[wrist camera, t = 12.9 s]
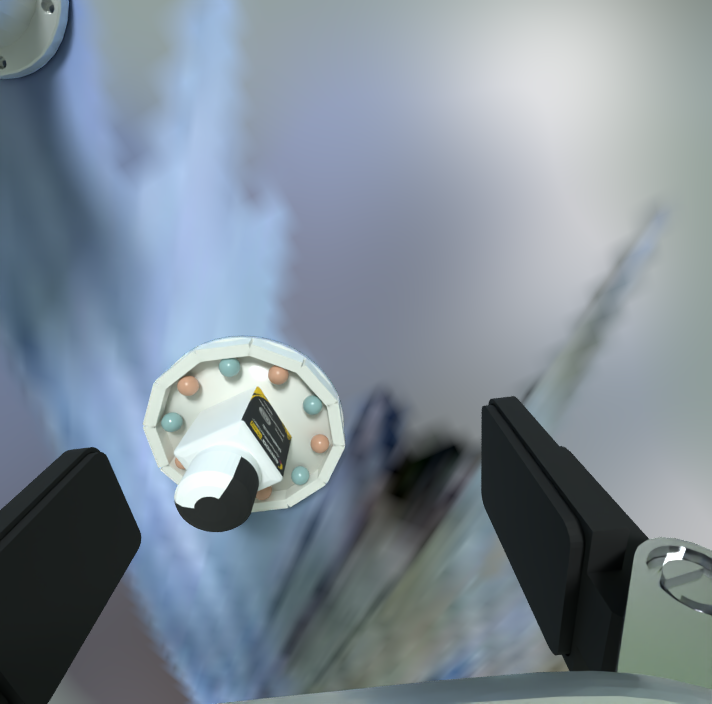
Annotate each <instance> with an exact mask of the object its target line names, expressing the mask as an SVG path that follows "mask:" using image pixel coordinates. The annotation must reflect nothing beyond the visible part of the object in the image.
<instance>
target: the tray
mask: <svg viewBox="0 0 712 704" xmlns="http://www.w3.org/2000/svg"><path fill="white" fill-rule="evenodd" d="M255 386H259V387H260V388H261V390H262V391H263V393H264V394H265V396H266V397H267V399H268V401H269V402H270V404H271V405H272V407H273V408H274V410H275V411H276V413H277V414H278V416H279V417H280V419H281V421H282V422H283V424H284V425H285V427H286V428H287V430H288V431H289V433H290V434H291V437H292V438H291V443H290V448H289V452H288V457H287V461H286V466H285V471H284V475H283V479H282V481H281V482H279V483H276V484H274V485H271V486H269V487H267V488H264V489H262V490H260V491H257V495H256V498H255V501H254V505H253V508H252V511H251V512H259V511H267V510H276V509H284V508H288V506H290V507H292V506H293V505H295V504H296V503H298V502H299V501H301V500H303V499H304V498H306V497H307V496H309V495H311V494H312V493H314V492H315V491H317V490H318V489H320V488H322V487H323V486H325V485H326V483H328V481H329V479H330V476H331V474H332V472H333V470H334V468H335V466H336V464H337V462H338V460H339V458H340V456H341V454H342V452H343V450H344V448H345V433H344V419H343V410H342V406H341V401H340V399H339V396H338V393H337V391H336V389H335V387H334V386H333V384H332V382H331V380H330V379H329V378H328V377H327V375H326V374H325V373H324V371H323V370H322V369H321V368H320V367H319V366H318V365H317V364H316V363H315V362H313V361H312V360H311V359H310V358H308V357H307V356H306V355H304V354H303V353H301V352H299V351H298V350H296V349H294V348H292V347H290V346H288V345H285V344H283V343H280V342H277V341H274V340H271V339H266V338H261V337H255V336H231V337H224V338H219V339H215V340H212V341H209V342H206V343H203V344H201V345H198V346H197V347H195V348H193V349H192V350H190V351H189V352H187V353H186V354H184V355H183V356H182V357H181V358H180V359H179V360H178V361H177V362H176V363H175V364H173V365H172V366H171V367H170V368H169V369H168V370H167V371H166V372H164V373H163V374H162V375H161V376H160V377H159V378H158V379H157V380H156V381H155V382H154V384H153V388H152V391H151V395H150V399H149V403H148V407H147V410H146V414H145V418H144V422H143V425H145V426H144V427H143V429H144V431H145V434H146V437H147V439H148V442H149V444H150V447H151V450H152V452H153V455H154V457H155V460H156V463H157V465H158V468H159V467H161V469H160V470H161V471H162V472H163V473H165V474H166V475H167V476H168V477H169V478H170V479H172V480H173V481H174V482H175V483H176V484H178V485H179V483H180V481H181V479H182V478H183V476H184V474H185V473H186V471H187V470H186V469H185V468H184V466H183V465H182V464H181V463H180V461H179V460H178V459H177V458H176V456H175V455H174V450H175V449H176V447H177V446H178V444H179V443H180V441H181V440H182V438H183V437H184V435H185V434H186V432H187V431H188V429H189V428H190V426H191V425H192V423H193V422H194V420H195V419H196V418H197V416H198V415H199V413H200V412H201V411H203V410H205V409H207V408H209V407H212V406H214V405H216V404H218V403H220V402H222V401H225V400H227V399H229V398H231V397H233V396H235V395H237V394H240V393H242V392H244V391H246V390H248V389H250V388H253V387H255Z"/></svg>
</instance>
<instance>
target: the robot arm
mask: <svg viewBox="0 0 712 704" xmlns="http://www.w3.org/2000/svg"><path fill="white" fill-rule="evenodd" d="M68 9H69V0H0V79H10V78H20V77H23V76H26V75H29V74H32V73H34V72H35V71H37V70H38V69H40V68H41V67H43V66H44V65H45V64H46V63H47V62H48V61H49V60H50V59H51V58H52V57H53V55H54V54H55V53H56V51H57V49H58V47H59V45H60V43H61V42H62V40H63V36H64V33H65V29H66V26H67V21H68ZM481 492H482V500H483V504H484V507H485V509H486V512H487V514H488V516H489V518H490V520H491V522H492V525H493V527H494V529H495V531H496V533H497V535H498V538H499V540H500V542H501V544H502V546H503V549H504V551H505V553H506V555H507V557H508V559H509V562H510V564H511V566H512V568H513V570H514V572H515V575H516V577H517V579H518V581H519V583H520V586H521V588H522V590H523V592H524V594H525V596H526V599H527V601H528V603H529V605H530V607H531V609H532V612H533V614H534V616H535V618H536V620H537V623H538V625H539V627H540V629H541V631H542V633H543V636H544V638H545V640H546V642H547V644H548V646H549V648H550V650H551V651H552V653H553V654H554V655H562V656H563V658H564V660H565V662H566V665H567V667H568V669H569V671H567V672H536V673H524V674H511V675H499V676H487V677H475V678H463V679H451V680H439V681H429V682H419V683H409V684H400V685H390V686H380V687H371V688H361V689H351V690H342V691H332V692H322V693H313V694H303V695H293V696H284V697H274V698H265V699H256V700H247V701H237V702H228V703H219V704H712V551H711V550H709V549H707V548H705V547H702V546H700V545H698V544H695V543H692V542H688V541H684V540H680V539H676V538H655V539H648V537H647V536H646V535H645V534H644V533H643V532H642V531H641V530H640V529H639V527H638V526H637V525H636V524H635V523H634V522H633V521H632V520H631V519H630V518H629V516H628V515H627V514H626V513H625V512H624V511H623V510H622V509H621V507H620V506H619V505H618V504H617V503H616V502H615V501H614V500H613V499H612V497H611V496H610V495H609V494H608V493H607V492H606V491H605V490H604V489H603V488H602V486H601V485H600V484H599V483H598V482H597V481H596V480H595V479H594V477H593V476H592V475H591V474H590V473H589V472H588V471H587V470H586V469H585V467H584V466H583V465H582V464H581V463H580V462H579V461H578V460H577V459H576V457H575V456H574V455H573V454H572V453H571V452H570V451H569V450H567V449H566V448H565V447H562V446H559V445H558V444H557V443H556V442H555V441H554V440H553V439H552V437H551V436H550V435H549V434H548V433H547V432H546V431H545V429H544V428H543V427H542V426H541V425H540V424H539V423H538V421H537V420H536V419H535V418H534V417H533V416H532V415H531V413H530V412H529V411H528V410H527V409H526V408H525V407H524V405H523V404H522V403H521V402H520V401H519V400H518V399H517V398H516V397H515V396H512V397H503V398H496V399H490V401H489V405H488V406H483V407H482V470H481ZM140 543H141V533H140V530H139V528H138V526H137V523H136V521H135V519H134V517H133V514H132V512H131V510H130V508H129V505H128V503H127V501H126V499H125V496H124V494H123V492H122V489H121V487H120V485H119V483H118V480H117V478H116V476H115V474H114V471H113V469H112V467H111V465H110V462H109V460H108V458H107V456H106V454H104V453H102V452H100V451H99V450H98V449H97V448H94V447H90V448H82V449H74V450H68V451H66V452H64V453H63V454H62V455H61V456H60V457H59V458H58V459H56V460H55V461H54V462H53V463H52V464H51V465H50V466H49V467H48V468H46V469H45V470H44V471H43V472H42V473H41V474H40V475H39V476H38V477H37V478H35V479H34V480H33V481H32V482H31V483H30V484H29V485H28V486H27V487H26V488H24V489H23V490H22V491H21V492H20V493H19V494H18V495H17V496H16V497H14V498H13V499H12V500H11V501H10V502H9V503H8V504H7V505H6V506H5V507H3V508H2V509H1V510H0V704H47V703H48V702H49V700H50V699H51V697H52V696H53V694H54V692H55V691H56V689H57V687H58V685H59V684H60V682H61V680H62V679H63V677H64V675H65V674H66V672H67V670H68V668H69V667H70V665H71V663H72V661H73V660H74V658H75V656H76V655H77V653H78V651H79V649H80V647H81V646H82V644H83V643H84V641H85V639H86V638H87V636H88V634H89V633H90V631H91V629H92V627H93V626H94V624H95V622H96V621H97V619H98V617H99V615H100V614H101V612H102V610H103V609H104V607H105V605H106V604H107V602H108V600H109V598H110V597H111V595H112V593H113V592H114V590H115V588H116V587H117V585H118V583H119V581H120V580H121V578H122V576H123V575H124V573H125V571H126V569H127V568H128V566H129V564H130V563H131V561H132V559H133V558H134V556H135V554H136V552H137V551H138V549H139V547H140Z"/></svg>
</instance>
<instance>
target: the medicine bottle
mask: <svg viewBox="0 0 712 704" xmlns="http://www.w3.org/2000/svg"><path fill="white" fill-rule="evenodd" d="M291 438H292V437H291V434H290V433H289V431H288V430H287V428H286V427H285V425H284V424H283V422H282V421H281V419H280V417H279V416H278V414H277V413H276V411H275V410H274V408H273V407H272V405H271V404H270V402H269V401H268V399H267V397H266V396H265V394H264V393H263V391H262V390H261V388H260V387H259V386H255V387H253V388H250V389H248V390H246V391H244V392H242V393H240V394H237V395H235V396H233V397H231V398H229V399H227V400H225V401H222V402H220V403H218V404H216V405H214V406H212V407H209V408H207V409H205V410H203V411H201V412H200V413H199V415H198V416H197V418H196V419H195V420H194V422H193V423H192V425H191V426H190V428H189V429H188V431H187V432H186V434H185V435H184V437H183V438H182V440H181V441H180V443H179V444H178V446H177V447H176V449H175V450H174V455H175V456H176V458H177V459H178V460H179V461H180V463H181V464H182V465H183V466H184V468H185V469H186V470H187V471H186V473H185V474H184V476H183V478H182V479H181V481H180V483H179V485H178V486H177V488H176V491H175V495H174V500H175V505H176V508H177V510H178V512H179V514H180V515H181V516H182V518H183V519H184V520H185V521H186V522H188V523H189V524H190V525H192V526H194V527H196V528H198V529H201V530H204V531H209V532H223V531H228V530H231V529H234V528H236V527H238V526H240V525H241V524H243V523H244V522H245V521H246V520H247V519H248V517H249V516H250V514H251V511H252V508H253V505H254V501H255V498H256V495H257V491H260V490H262V489H264V488H267V487H269V486H271V485H274V484H276V483H279V482H281V481H282V479H283V475H284V471H285V466H286V461H287V457H288V452H289V448H290V443H291Z"/></svg>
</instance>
